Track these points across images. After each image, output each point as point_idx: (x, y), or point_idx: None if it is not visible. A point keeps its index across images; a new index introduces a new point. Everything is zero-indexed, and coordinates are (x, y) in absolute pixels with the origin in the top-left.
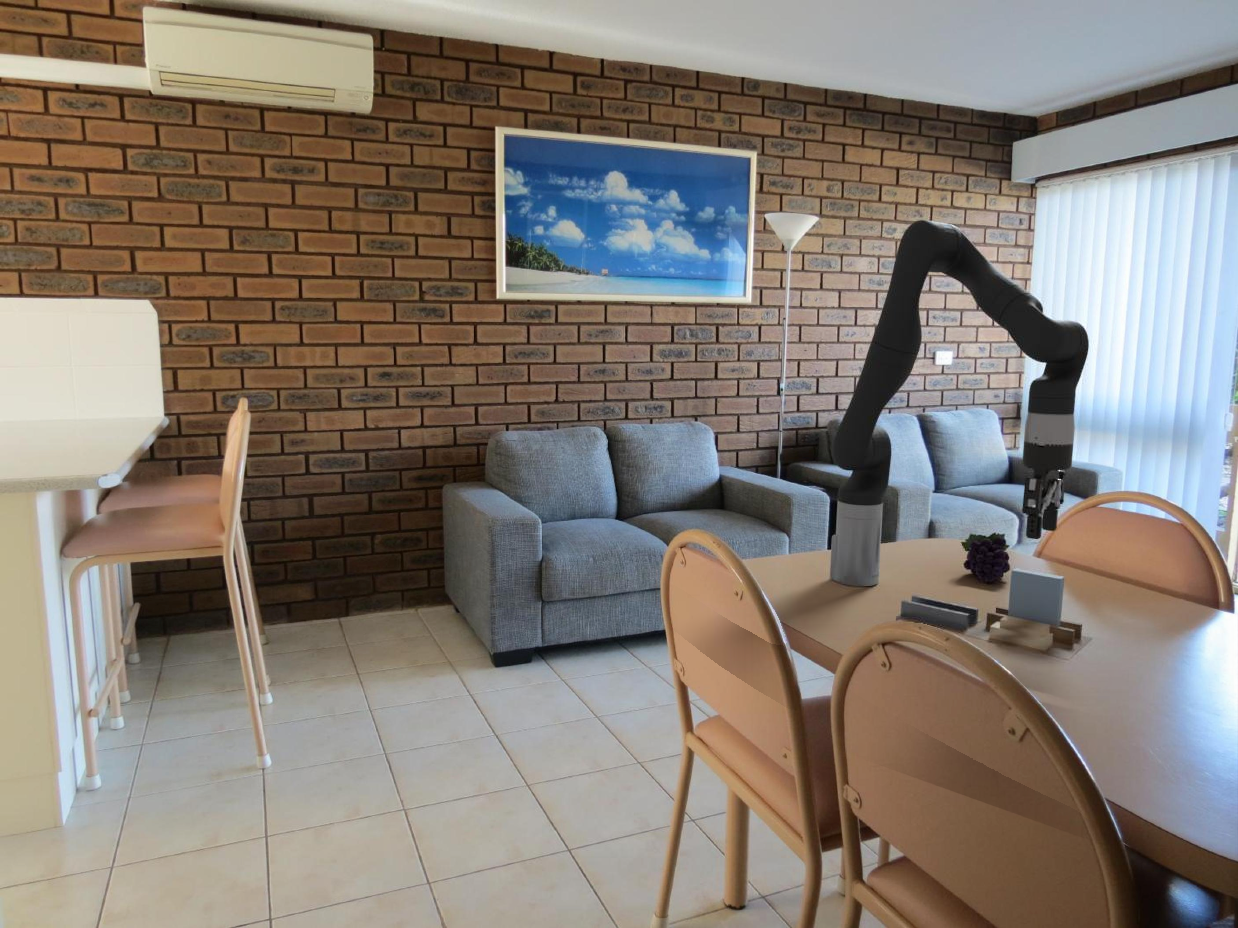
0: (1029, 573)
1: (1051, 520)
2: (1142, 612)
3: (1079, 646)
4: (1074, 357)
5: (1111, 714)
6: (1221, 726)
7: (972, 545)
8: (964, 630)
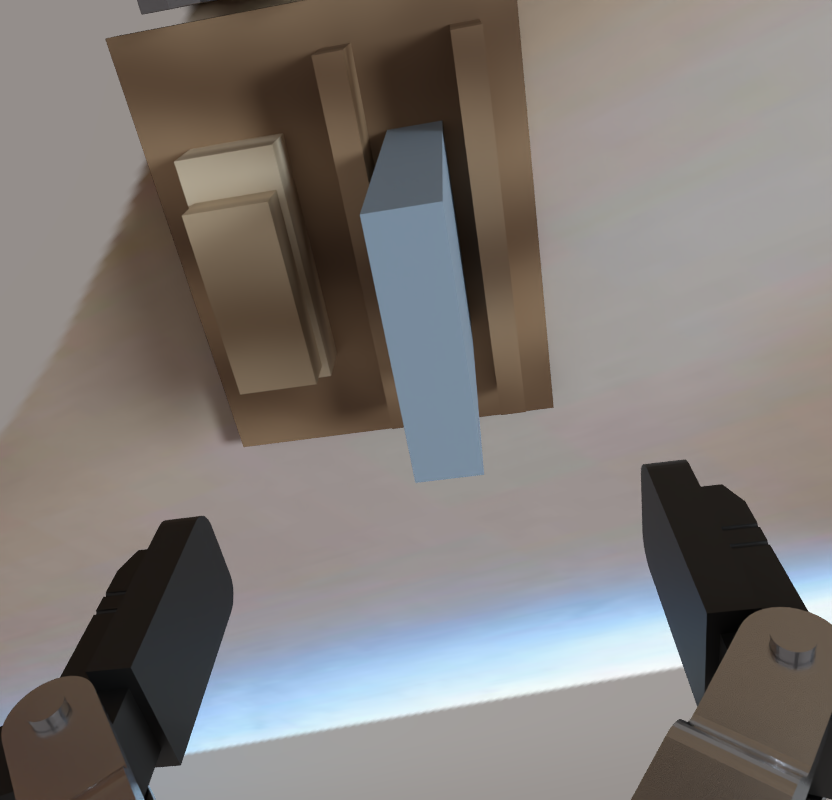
0: (383, 325)
1: (667, 593)
2: None
3: None
4: None
5: (27, 616)
6: (200, 742)
7: None
8: (172, 8)
